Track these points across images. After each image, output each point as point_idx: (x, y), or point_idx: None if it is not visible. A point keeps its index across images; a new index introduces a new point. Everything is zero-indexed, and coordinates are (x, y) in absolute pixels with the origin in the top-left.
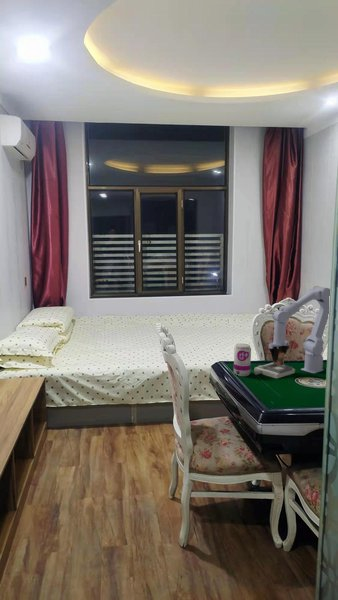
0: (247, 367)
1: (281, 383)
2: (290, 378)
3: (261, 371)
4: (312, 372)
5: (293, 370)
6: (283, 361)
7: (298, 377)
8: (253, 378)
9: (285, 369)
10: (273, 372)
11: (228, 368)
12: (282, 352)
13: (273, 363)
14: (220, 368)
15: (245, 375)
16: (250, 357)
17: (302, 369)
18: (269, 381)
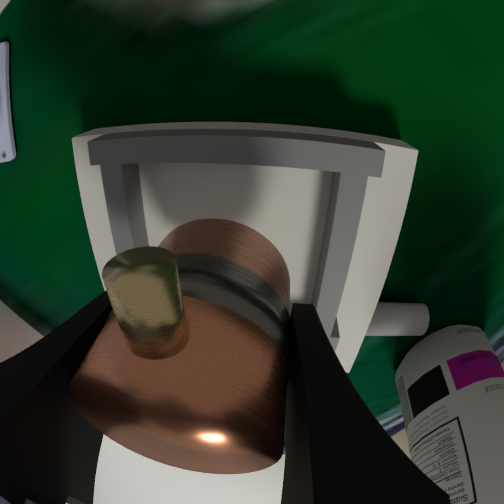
0: (491, 366)
1: (477, 51)
2: (279, 39)
3: (376, 310)
4: (5, 52)
5: (96, 132)
6: (173, 245)
7: (177, 13)
8: (488, 274)
9: (243, 134)
10: (371, 215)
11: (380, 419)
12: (118, 401)
13: None
14: (399, 427)
15: (474, 327)
16: (482, 437)
17: (9, 143)
18: (496, 156)
